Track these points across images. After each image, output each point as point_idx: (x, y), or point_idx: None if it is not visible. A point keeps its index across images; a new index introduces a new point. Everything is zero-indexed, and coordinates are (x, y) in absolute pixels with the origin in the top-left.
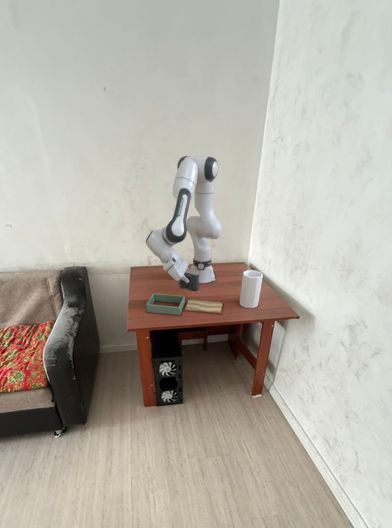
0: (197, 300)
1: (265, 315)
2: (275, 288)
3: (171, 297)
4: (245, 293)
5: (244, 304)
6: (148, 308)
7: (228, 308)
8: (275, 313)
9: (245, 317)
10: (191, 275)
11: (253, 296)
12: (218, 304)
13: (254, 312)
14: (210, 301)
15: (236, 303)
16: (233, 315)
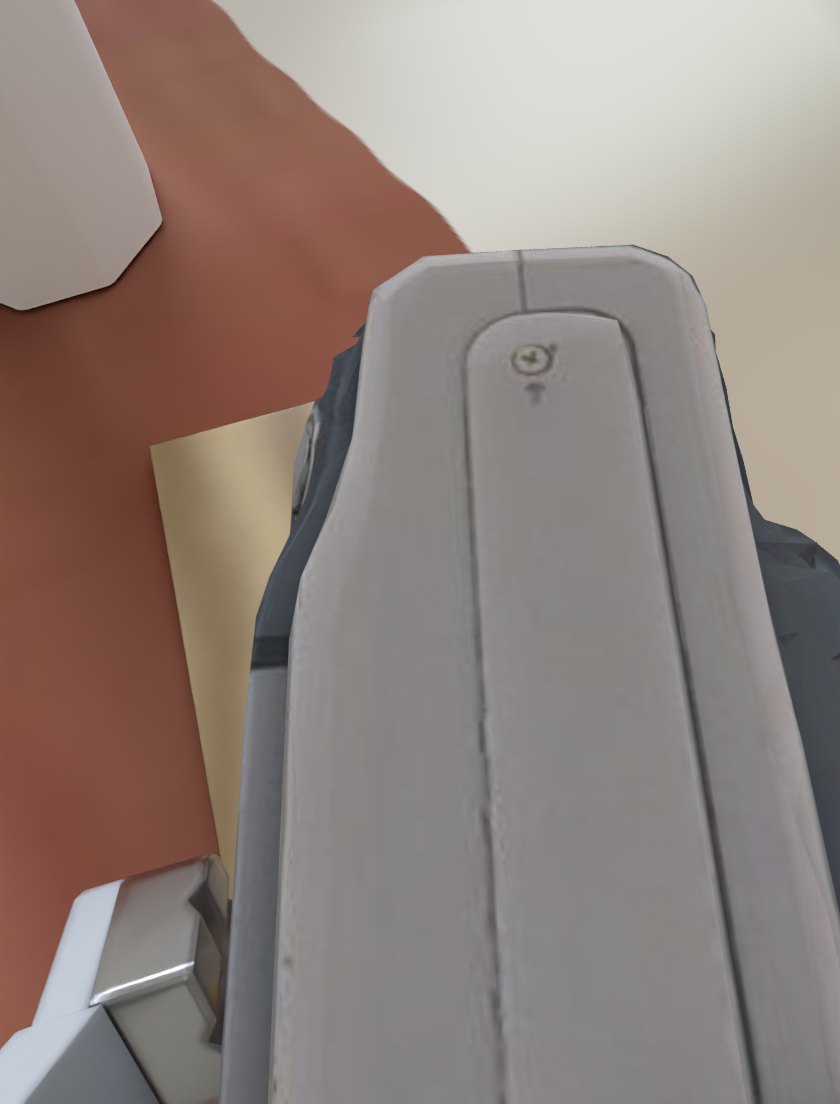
0: (222, 806)
1: (245, 56)
2: None
3: None
4: (66, 63)
5: (140, 203)
6: None
7: (247, 360)
8: (170, 10)
9: (371, 168)
10: (784, 533)
11: (82, 19)
12: (228, 470)
13: (226, 136)
14: (178, 601)
15: (80, 329)
16: (388, 266)
